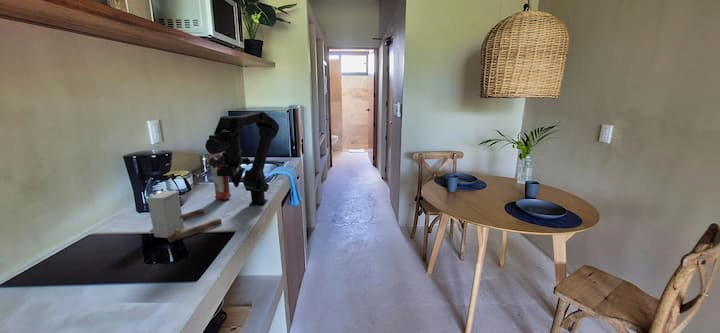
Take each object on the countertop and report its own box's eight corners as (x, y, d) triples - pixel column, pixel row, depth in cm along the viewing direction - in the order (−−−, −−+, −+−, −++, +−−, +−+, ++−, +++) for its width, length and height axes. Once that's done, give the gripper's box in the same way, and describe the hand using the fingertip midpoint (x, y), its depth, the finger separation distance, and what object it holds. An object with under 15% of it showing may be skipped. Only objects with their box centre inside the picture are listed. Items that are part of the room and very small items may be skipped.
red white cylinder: (211, 200, 141) (203, 140, 133) (223, 195, 147) (216, 137, 140) (223, 202, 138) (215, 141, 131) (235, 197, 145) (228, 139, 137)
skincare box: (169, 238, 107) (162, 198, 103) (153, 237, 107) (145, 197, 103) (185, 227, 115) (179, 190, 111) (170, 226, 115) (163, 189, 111)
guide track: (202, 212, 128) (201, 205, 127) (222, 224, 117) (220, 216, 116) (153, 227, 114) (151, 219, 113) (170, 242, 104) (168, 233, 103)
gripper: (222, 144, 128) (226, 179, 132) (199, 154, 110) (205, 195, 114) (248, 144, 128) (252, 179, 132) (230, 154, 110) (235, 195, 114)
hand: (236, 186), depth 123 cm, fingers closed
